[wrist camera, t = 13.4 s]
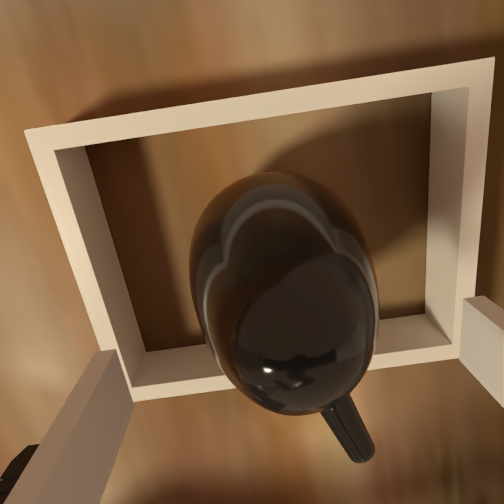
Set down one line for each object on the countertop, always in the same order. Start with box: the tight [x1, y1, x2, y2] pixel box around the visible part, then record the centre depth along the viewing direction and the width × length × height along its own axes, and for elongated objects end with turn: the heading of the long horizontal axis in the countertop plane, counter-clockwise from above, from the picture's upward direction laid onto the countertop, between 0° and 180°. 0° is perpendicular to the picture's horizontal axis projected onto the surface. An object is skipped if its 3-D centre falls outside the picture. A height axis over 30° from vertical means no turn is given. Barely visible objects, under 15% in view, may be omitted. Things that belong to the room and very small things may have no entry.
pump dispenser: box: [189, 171, 380, 463], centre depth 19 cm, size 10×10×15 cm
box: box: [24, 57, 495, 402], centre depth 24 cm, size 24×18×4 cm
